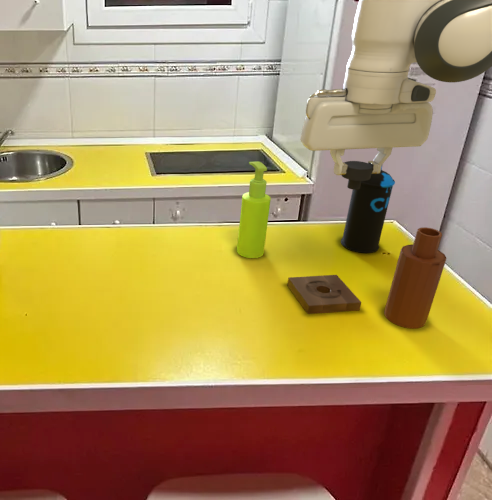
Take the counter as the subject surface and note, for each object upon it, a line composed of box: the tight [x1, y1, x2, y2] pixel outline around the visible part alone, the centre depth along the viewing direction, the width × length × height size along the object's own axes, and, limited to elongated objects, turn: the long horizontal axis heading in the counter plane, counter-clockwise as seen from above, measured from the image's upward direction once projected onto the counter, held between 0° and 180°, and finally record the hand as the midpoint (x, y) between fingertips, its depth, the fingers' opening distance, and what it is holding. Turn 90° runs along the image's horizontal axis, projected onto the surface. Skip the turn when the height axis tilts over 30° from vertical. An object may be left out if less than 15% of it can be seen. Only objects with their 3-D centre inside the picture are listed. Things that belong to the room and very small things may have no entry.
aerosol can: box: [340, 163, 396, 254], centre depth 114 cm, size 8×8×20 cm
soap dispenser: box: [236, 160, 272, 259], centre depth 111 cm, size 6×7×20 cm
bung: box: [340, 160, 373, 190], centre depth 87 cm, size 5×5×4 cm
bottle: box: [383, 227, 448, 329], centre depth 89 cm, size 7×7×17 cm
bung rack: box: [286, 274, 362, 315], centre depth 98 cm, size 10×10×2 cm
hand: (356, 173), depth 87 cm, fingers closed on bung, 4 cm apart
